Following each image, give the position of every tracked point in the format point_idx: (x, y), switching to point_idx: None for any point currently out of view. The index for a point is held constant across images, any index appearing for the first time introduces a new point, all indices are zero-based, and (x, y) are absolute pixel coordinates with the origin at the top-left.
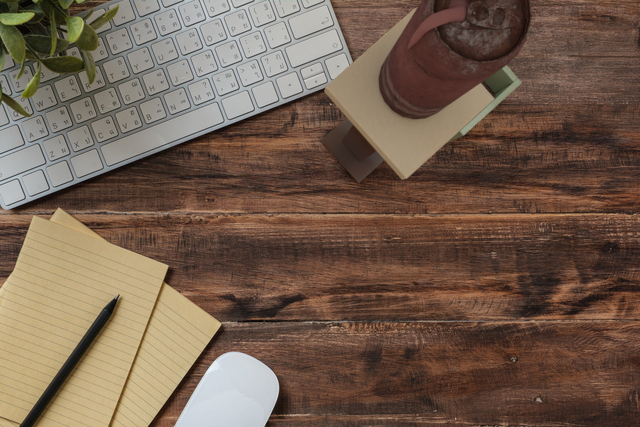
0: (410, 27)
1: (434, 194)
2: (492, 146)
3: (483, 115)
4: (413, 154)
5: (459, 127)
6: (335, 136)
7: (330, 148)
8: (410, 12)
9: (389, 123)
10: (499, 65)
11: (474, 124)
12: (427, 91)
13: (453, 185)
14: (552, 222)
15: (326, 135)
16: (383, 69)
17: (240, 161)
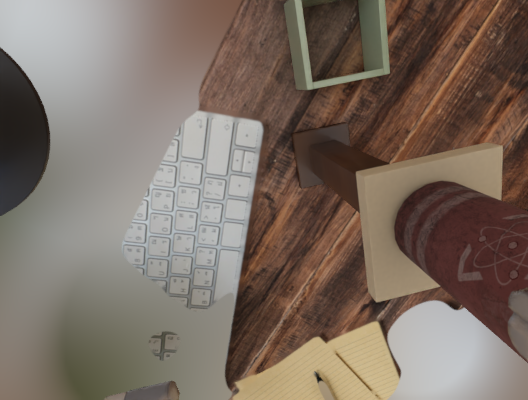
0: (518, 354)
1: (400, 115)
2: (399, 33)
3: (386, 41)
4: None
5: (499, 198)
6: (305, 174)
7: (312, 184)
8: (365, 185)
9: None
10: None
11: (387, 56)
12: None
13: (405, 93)
14: (495, 20)
15: (300, 181)
16: (421, 269)
17: (276, 254)
